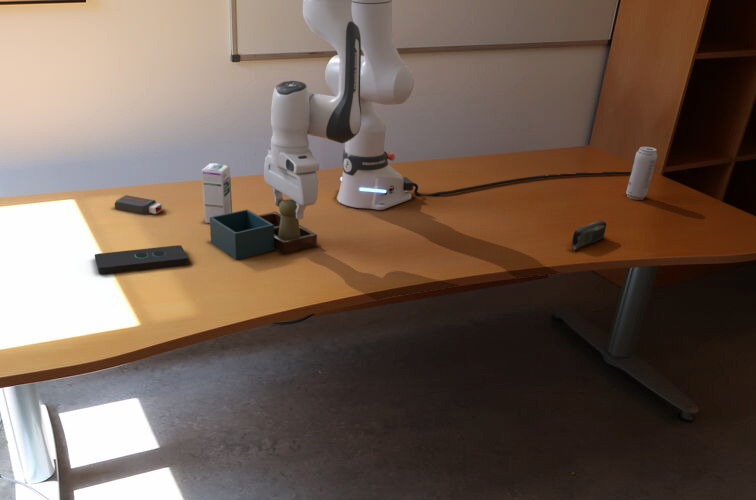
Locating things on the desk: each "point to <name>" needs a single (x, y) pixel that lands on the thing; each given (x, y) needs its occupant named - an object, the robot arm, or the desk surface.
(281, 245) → the holder
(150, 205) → the usb drive
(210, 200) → the syrup box
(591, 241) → the mobile phone
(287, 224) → the olive pepper mill
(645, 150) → the energy drink can
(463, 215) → the desk surface
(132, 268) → the smart home device
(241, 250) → the bin
